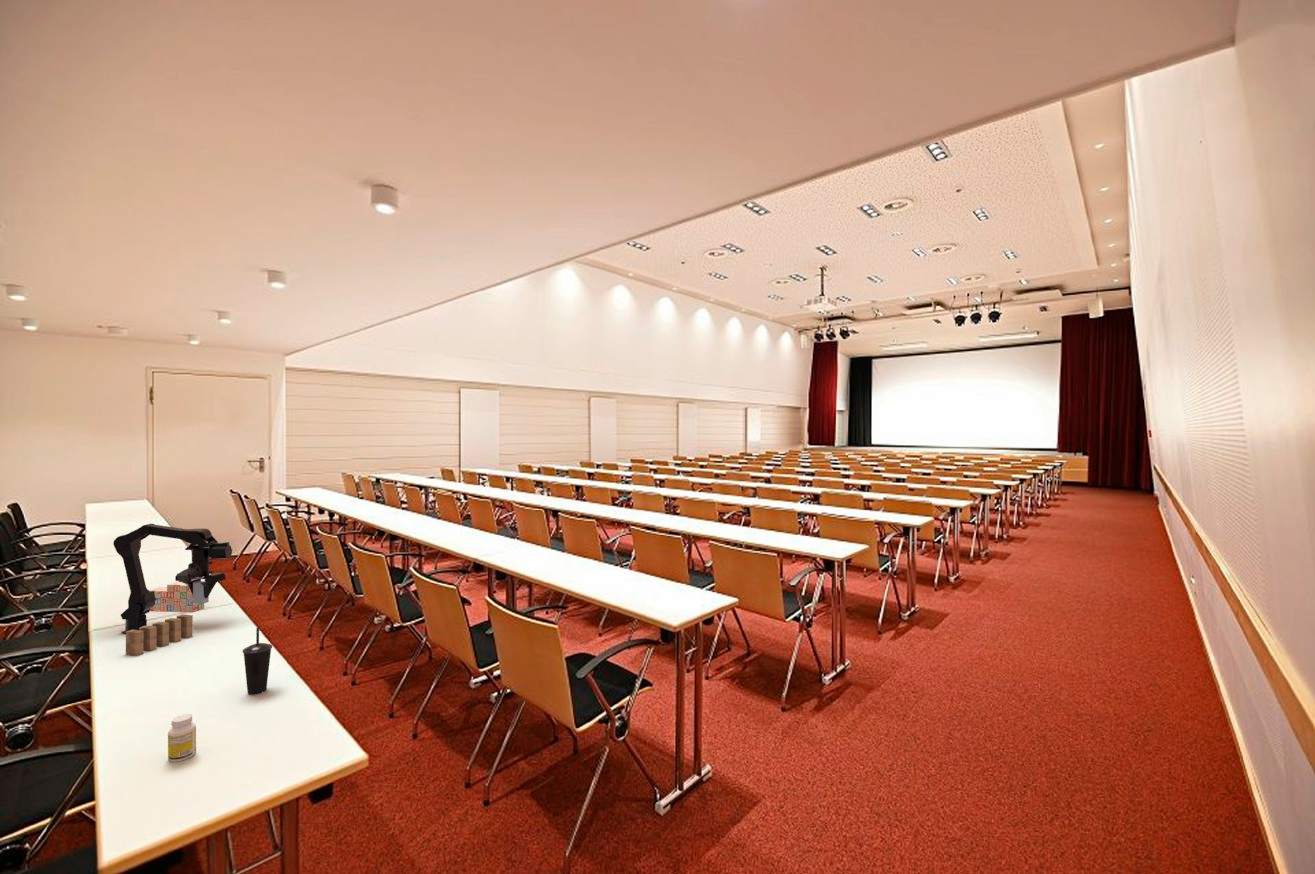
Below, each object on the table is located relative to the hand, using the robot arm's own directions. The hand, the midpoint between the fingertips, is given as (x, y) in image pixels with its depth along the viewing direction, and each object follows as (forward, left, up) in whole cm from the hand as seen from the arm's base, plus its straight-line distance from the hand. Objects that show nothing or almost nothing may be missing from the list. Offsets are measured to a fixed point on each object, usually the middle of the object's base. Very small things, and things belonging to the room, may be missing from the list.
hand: (200, 597), depth 235 cm
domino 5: (+5, -11, -12) cm, 17 cm away
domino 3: (+5, -20, -12) cm, 24 cm away
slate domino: (0, 0, -2) cm, 2 cm away
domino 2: (+5, -24, -12) cm, 27 cm away
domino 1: (+5, -29, -12) cm, 31 cm away
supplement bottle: (+86, -78, -13) cm, 116 cm away
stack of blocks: (-33, +17, -13) cm, 39 cm away
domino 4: (+5, -15, -12) cm, 20 cm away
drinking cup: (+73, -44, -13) cm, 86 cm away
